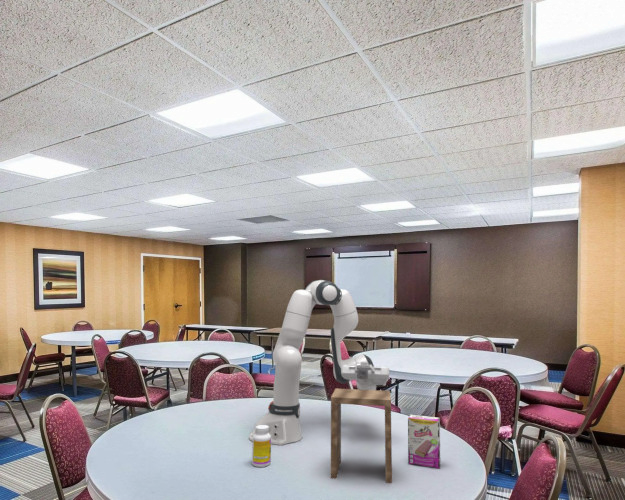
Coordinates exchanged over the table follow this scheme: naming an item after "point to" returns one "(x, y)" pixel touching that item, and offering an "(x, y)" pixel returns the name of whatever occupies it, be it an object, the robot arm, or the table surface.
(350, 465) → the table surface
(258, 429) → the supplement bottle
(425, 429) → the candy bar box
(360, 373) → the bar
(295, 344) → the robot arm
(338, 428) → the wooden side table
